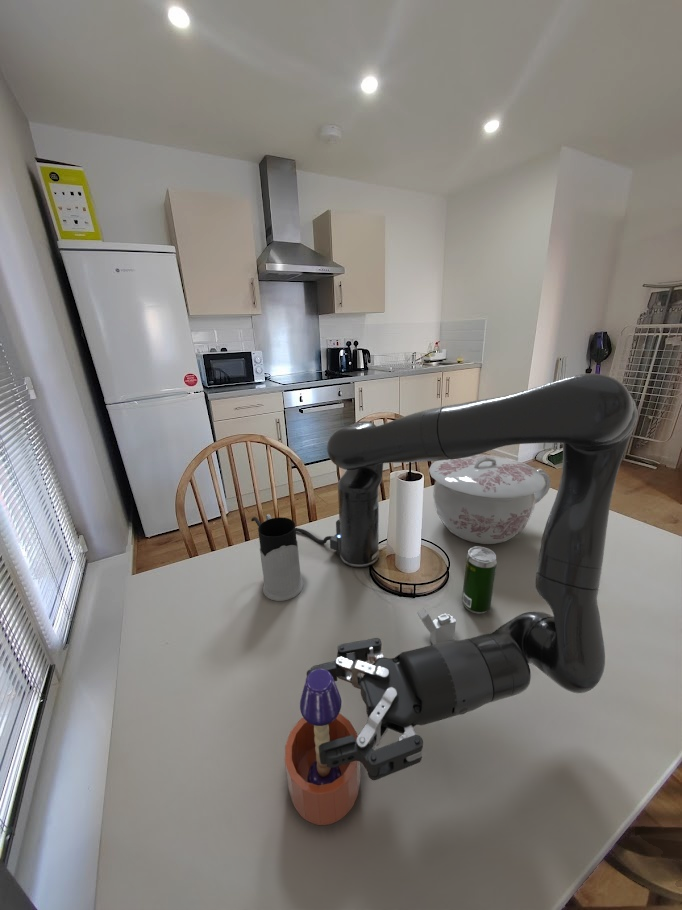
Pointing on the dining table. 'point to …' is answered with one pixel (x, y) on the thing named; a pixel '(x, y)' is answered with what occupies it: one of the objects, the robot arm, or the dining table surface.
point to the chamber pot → (486, 496)
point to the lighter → (439, 627)
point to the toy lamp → (320, 719)
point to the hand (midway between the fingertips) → (312, 713)
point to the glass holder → (279, 558)
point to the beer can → (479, 579)
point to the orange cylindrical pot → (325, 799)
